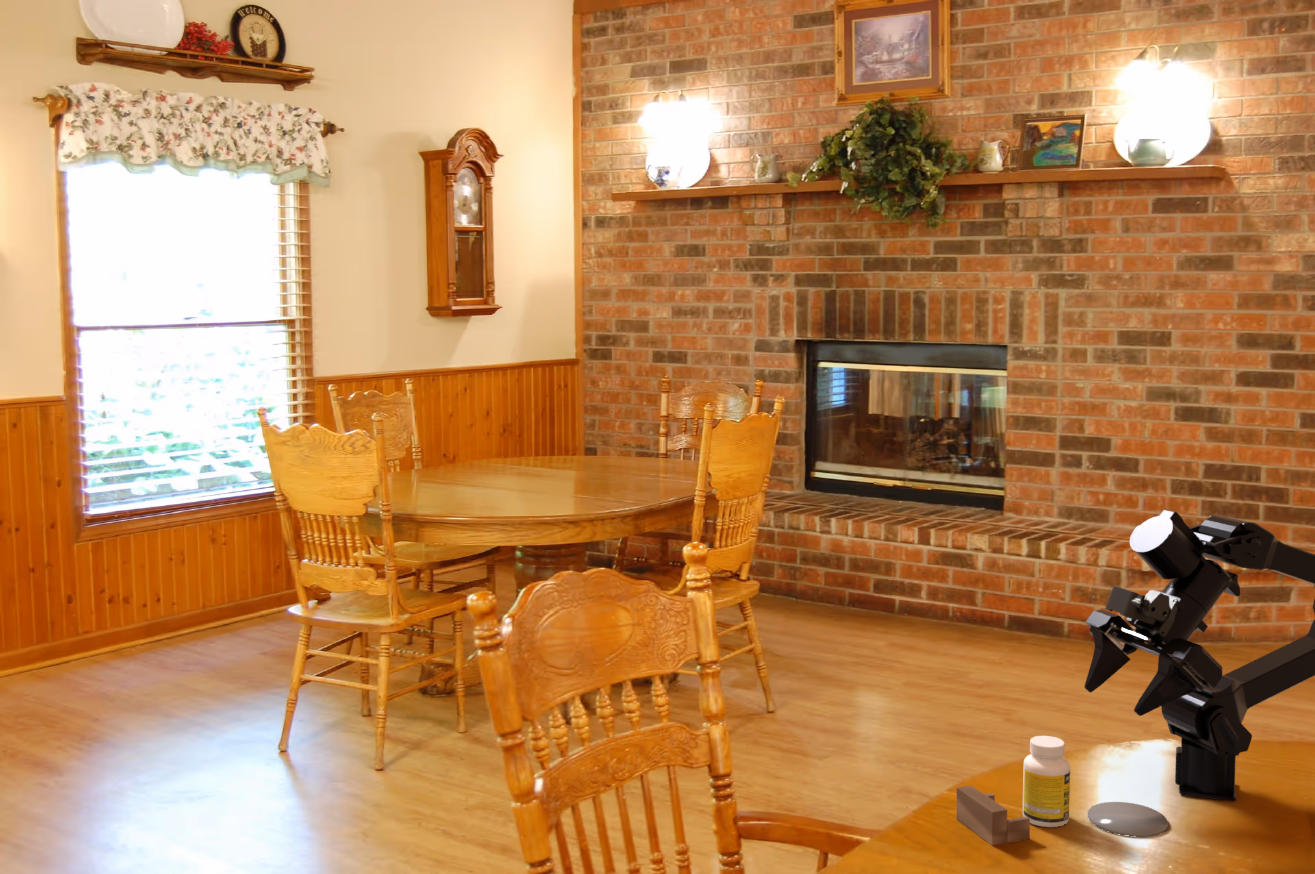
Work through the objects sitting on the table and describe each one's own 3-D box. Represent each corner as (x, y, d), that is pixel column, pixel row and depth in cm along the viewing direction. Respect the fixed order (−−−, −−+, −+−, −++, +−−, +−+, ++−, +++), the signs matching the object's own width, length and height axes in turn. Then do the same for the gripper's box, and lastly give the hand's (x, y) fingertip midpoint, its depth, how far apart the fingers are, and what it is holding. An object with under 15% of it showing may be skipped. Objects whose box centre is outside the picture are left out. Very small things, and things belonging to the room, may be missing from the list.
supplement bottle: (1072, 830, 147) (1073, 750, 145) (1024, 827, 148) (1025, 748, 146) (1066, 811, 152) (1067, 734, 151) (1020, 808, 153) (1021, 732, 152)
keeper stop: (991, 812, 152) (991, 781, 151) (1029, 838, 145) (1029, 806, 144) (956, 818, 150) (956, 787, 150) (992, 845, 143) (992, 812, 143)
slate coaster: (1167, 810, 151) (1168, 807, 151) (1167, 841, 143) (1167, 838, 143) (1090, 800, 155) (1090, 797, 155) (1084, 830, 146) (1085, 827, 146)
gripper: (1097, 547, 159) (1025, 642, 157) (1202, 578, 142) (1122, 686, 140) (1148, 599, 163) (1078, 692, 161) (1257, 635, 145) (1180, 741, 143)
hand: (1111, 701), depth 151 cm, fingers open, 9 cm apart
